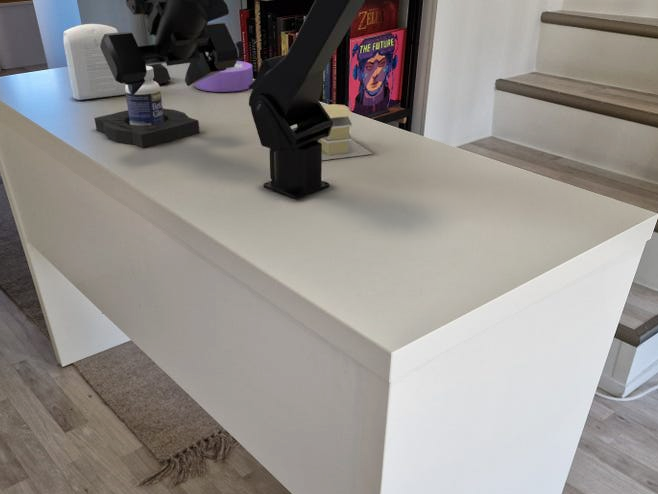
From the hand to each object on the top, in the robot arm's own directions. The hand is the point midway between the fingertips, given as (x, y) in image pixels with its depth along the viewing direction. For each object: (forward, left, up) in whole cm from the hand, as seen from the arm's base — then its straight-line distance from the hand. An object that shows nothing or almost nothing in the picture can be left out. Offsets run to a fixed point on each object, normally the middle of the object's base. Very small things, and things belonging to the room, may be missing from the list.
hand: (159, 87), depth 100 cm
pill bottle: (+6, -1, -8) cm, 10 cm away
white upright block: (+31, -8, -8) cm, 33 cm away
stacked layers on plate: (-21, -16, -8) cm, 27 cm away
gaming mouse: (+37, -22, -8) cm, 44 cm away
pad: (+6, -1, -8) cm, 10 cm away
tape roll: (+21, -30, -8) cm, 38 cm away
